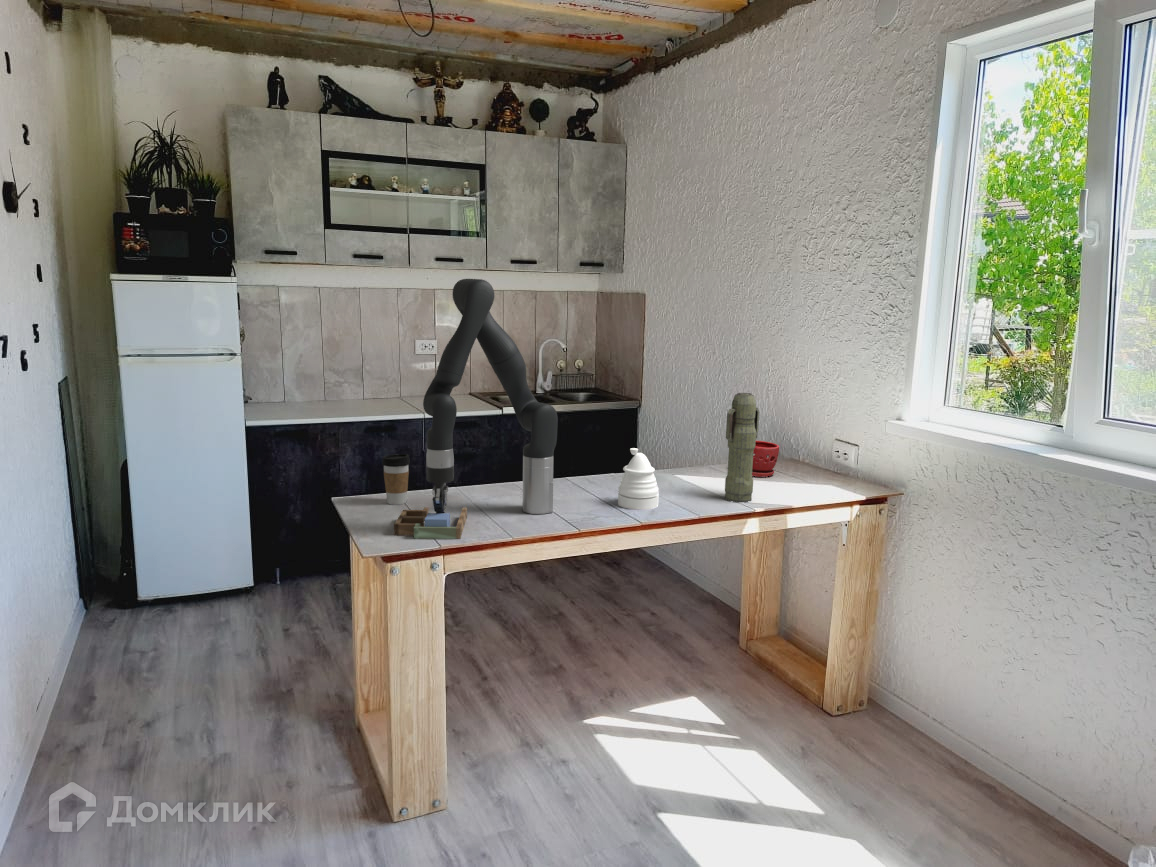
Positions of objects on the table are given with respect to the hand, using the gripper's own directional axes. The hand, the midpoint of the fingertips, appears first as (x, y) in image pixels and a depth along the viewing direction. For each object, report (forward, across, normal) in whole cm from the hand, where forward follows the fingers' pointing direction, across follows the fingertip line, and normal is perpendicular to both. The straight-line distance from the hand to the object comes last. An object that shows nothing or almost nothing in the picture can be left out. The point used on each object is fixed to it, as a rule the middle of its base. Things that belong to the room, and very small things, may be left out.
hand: (440, 523), depth 220 cm
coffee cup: (+1, +26, +17) cm, 31 cm away
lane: (+1, 0, +3) cm, 3 cm away
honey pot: (+1, +27, -59) cm, 65 cm away
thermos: (+1, +34, -93) cm, 99 cm away
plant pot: (+2, +69, -110) cm, 130 cm away
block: (+1, -6, 0) cm, 6 cm away
